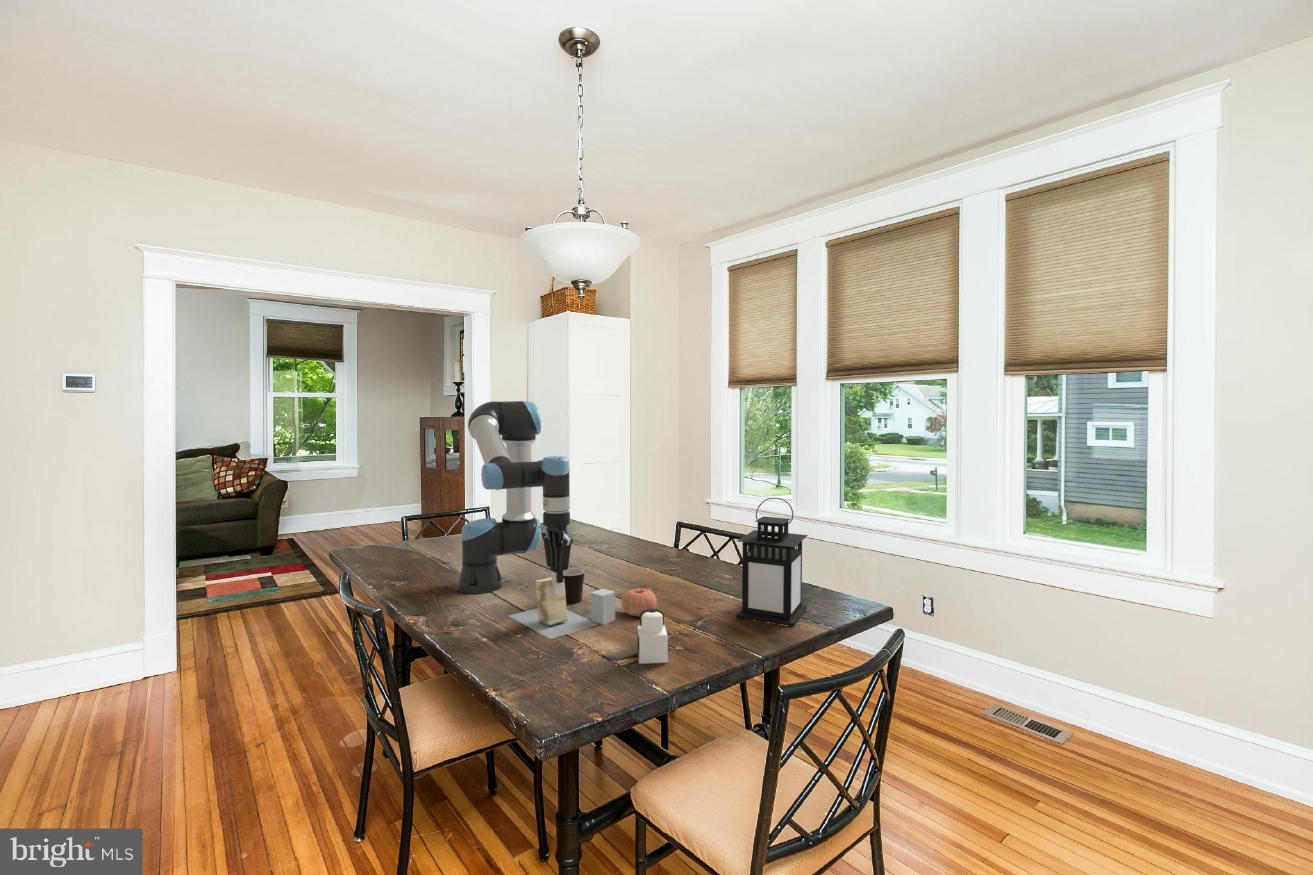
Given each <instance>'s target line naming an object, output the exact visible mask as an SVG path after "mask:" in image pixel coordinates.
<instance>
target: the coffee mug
mask: <svg viewBox="0 0 1313 875" xmlns="http://www.w3.org/2000/svg"><path fill="white" fill-rule="evenodd" d="M585 572H586V571H585V570H584V569H581V568H575V567H572V568H569V567H568V569H567V570H564V571H563V579H564V581H565V594H566V605H576V604H580V603H581V602H582V601H583V600H582V599H583V592H584V591H583V590H584V582H585V581H584V580H585Z"/></svg>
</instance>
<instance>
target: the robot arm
mask: <svg viewBox="0 0 1313 875" xmlns="http://www.w3.org/2000/svg"><path fill="white" fill-rule="evenodd" d="M467 427H468V428H467V429H468V432H469V434H470V436H471V437H472V439H474V440H475V442H476V444H477V447H478V449H479V453H480V455H481V458H482V461H483V465H482V467H481V472H480V473H481V474H480V475H481V482H482V487H483V488H484V489H485V490H496V491H498V490H506V492H505V493H506V501H505V502H506V503H505V504H506V506H505V507H506V512H505V513H504V514H502V515H501V521H499V522H498V521H497V520H496V518H495V517H494V518H492V517H489V518H480V519H479V518H478V519H475V520H472V521H469V522H467V523H464V525H463V526H462V528H461V537H460V540H461V570H460V572H459V576H458V579H457V582H456V587H457V591H458V592H460V593H463V594H470V595H471V594H476V595H477V594H485V593H490V592H491V593H492V592H494V591H498V590H500V589H501V588H502V587H503V577H502V575H501V572H500V569H499V566H498V562H497V561H498V556H508V555H517V554H523V555H524V554H527V553H532V552H535V551H536V550H537V548H538V547H539V546H540V542H541V537H542V540H543V546H544V548H543V549H544V554H545V555H544V556H545V559H546V560H545V562H546V566H547V568H549V569H550V571H551V577H552V594H554V595H556V594H560V593H563V571H564V570H567V569H569V565H570V564H569V563H570V556H571V555H570V554H571V548H572V544H573V542H574V541H573V540H574V539H573V537H569V536H568V529H567V527H568V526H569V525H570V523H571V512H570V511H569V510H570V509H571V499H570V493H571V492H570V470H571V468H570V460H569V458H568V457H567V456H562V455H561V456H559V455H556V456H553V455H551V456H549V455H548V456H545V457H543V459H539V460H537V461H535V460H534V461H532V445H533V443H534V442H536V439H537V438H536V436H537V435H540V434H541V432H542V419H541V414H540V411H539V408H538V407H537V404H536V403H534V402H532V401H523V400H520V401H519V400H517V401H515V400H513V401H509V400H508V401H495V400H493V401H487V402H484V403H482V404H481V405H479V406H477V407H476V408H475V409H474V410H473V411H472V413H470V415H469V418H468V422H467ZM505 445H506V446H505ZM540 487H542V510H543V511H544V512H543V513H542V522H543V523H542V524H543V526H545V527H546V531H545V532H542V528H541V522H540V520H539V519H537V518H536V514H535V513H534V512H533V511H532V488H540Z"/></svg>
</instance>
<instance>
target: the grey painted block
mask: <svg viewBox="0 0 1313 875" xmlns="http://www.w3.org/2000/svg"><path fill="white" fill-rule="evenodd" d="M615 620H616V591H614V590H610V589H606V588H600V589H597V590H594V591H592V592H590V621H592V622H594V623H596V624H599V625H606V624H608V623H611V622H614V621H615Z"/></svg>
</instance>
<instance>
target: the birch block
mask: <svg viewBox="0 0 1313 875" xmlns="http://www.w3.org/2000/svg"><path fill="white" fill-rule="evenodd" d="M535 590H536V591H535V592H536V604H537V605H536V606H537V608H538V619H539V623H542V624H546V625H553V624H557V623H560V622H564V621H567V610H568V609H567V604H566V594H565V581H564V579H563V593H560V594H556V595H554V594H552V576H551V577H547V578H546V577H545V578H542V579H538V580H535Z"/></svg>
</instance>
